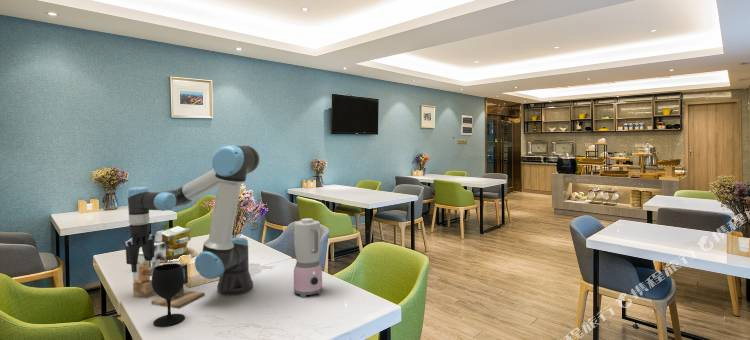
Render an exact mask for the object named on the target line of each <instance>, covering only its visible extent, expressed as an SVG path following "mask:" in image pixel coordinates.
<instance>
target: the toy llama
mask: <svg viewBox="0 0 750 340" xmlns="http://www.w3.org/2000/svg"><path fill="white" fill-rule="evenodd" d="M156 232H157V233H156ZM156 232H153V234H151V233H149V234H150V235H155V239H154V258H153V259H152V260H150V265H151V266H150V270H154V268H155V267H157V266H159V265H161V262H160V259H162V258H165V257H166V246H165V243H164V242H162V233H161V232H158V231H156ZM144 260H145V259H144V255H143V251H142V250H139V255H138V262H137V264H141V263H143V261H144Z"/></svg>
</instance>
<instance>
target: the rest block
mask: <svg viewBox="0 0 750 340" xmlns="http://www.w3.org/2000/svg"><path fill="white" fill-rule="evenodd" d="M132 288H133V289H132V291H133V297H134V296H135V297H134V298H142V299H148V298H150V297H153V296H156V295H157V294H156V293H155V292H154V290H153V288H152V279H150V280H148V281H146V282H143V283H135V282H134V281H133V283H132Z"/></svg>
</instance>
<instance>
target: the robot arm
mask: <svg viewBox="0 0 750 340" xmlns="http://www.w3.org/2000/svg"><path fill="white" fill-rule="evenodd" d="M259 164H260V155H259V153H258V151H257V150H256V149H255V148H254V147H252V146H249V145H233V144H231V145H226V146H221V147H220V148H219V149H217V150H215V152H214V154H213V156H212V159H211V166H212V168H213V169H211V170H210V171H208V172H206V173H204V174H202V175H200V176H198V177H197V178H195V179H193V180H191V181H189V182H188V183H187V182H186V183H185V184H184V185H182V186H180V187H178V188H177V189H171V190H166V191H160V192H159V191H158V192H156V191H153V192H152V191H149V188H148V187H147V186H134V187H130V188H128V190H127V207H128V208H127V210H128V224H129V226H128V228H129V230H128V231H129V234H130V237H129V239H128V240H127V241H123V244H124V247H125V258H126V259H125V260H126V265H130V266H131V273H132V280H134V279H135V280H139V279H140V275H139V264H137V262H138V255H139V251H140V249H141V251H143V255H144V259H145V260H144V261H143V263H144V264H149V270H150V266H151V267H152V264H151V265H150V260H152V259H153V258H154V239H155V235H154V234H152V235H150V234H151V233H150V232H151V230H150V229H151V225H150V224H151V223H150V211H162V212H165V211H172V210H173V209H174V208H177V207H180V206H186V205H190V204H191V203H192V202H193V201H194V200H195V199H197V198H198V197H202V196H203V195H204V194H206V193H208V192H210V191H212V190H215V189H216V194H215V198H214V200H215V201H214V204H213V205H214V206H213V212H212V216H211V217H212V218H211V224H210V231H209V236H208V239H206V240H205V241H204V242H203V244H202V251H201V252H199V253H198V254H197V256H195V260H194V267H195V269H196V271H197V272H198V274H199V275H200V276H201V277H202V278H204V279H208V280H213V279H216V278H219V280H218V283H217V286H216V292H217V294H219V295H222V296H236V295H242V294H246V293H249V292H250V291H252V290H253V289H254V281H253V279H252V276H251V273H250V271H249V270H250V269H249V265H250V264H249V261H250V260H249V243H248V242H249V241H248V239H247V238H246V237H233V231H234V225H235V221H236V214H237V208H238V203H239V197H240V192H241V187H242V184H244V183H245V182H246V181H247V175H248V174H250V173H253V172H254V171H255V170H257V168H258V167H259Z"/></svg>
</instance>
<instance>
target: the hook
mask: <svg viewBox="0 0 750 340" xmlns="http://www.w3.org/2000/svg"><path fill="white" fill-rule="evenodd" d="M152 274H153V270H152V269H151V270H149V264H144V263H141V264H139V275H140V279H139V280H135V279H133V283H134V282H135V283H143V282H146V281H148V280H151V277H152Z"/></svg>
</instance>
